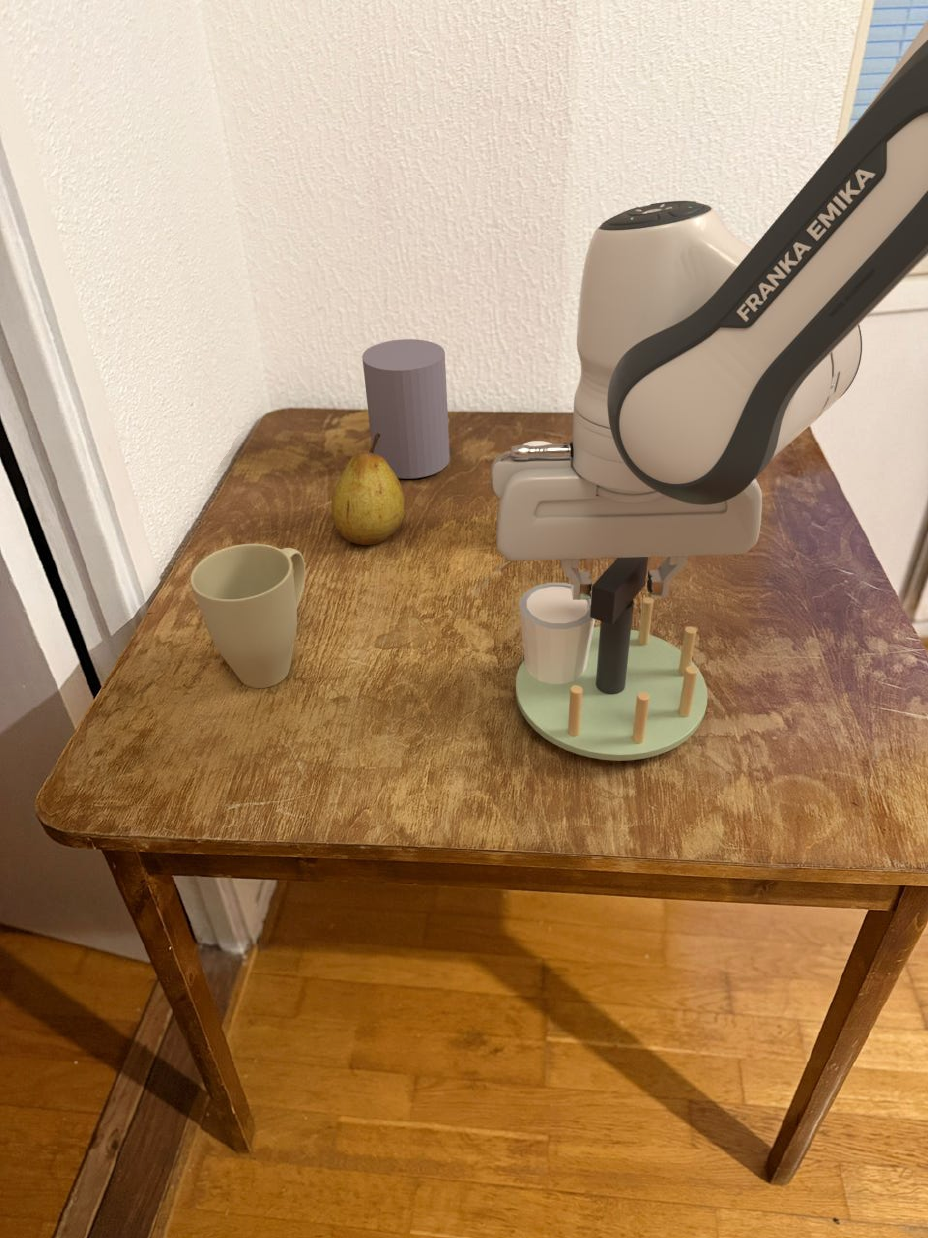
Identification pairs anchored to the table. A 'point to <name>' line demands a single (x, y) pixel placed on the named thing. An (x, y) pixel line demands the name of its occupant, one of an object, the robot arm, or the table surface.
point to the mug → (252, 608)
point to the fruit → (368, 499)
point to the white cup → (555, 633)
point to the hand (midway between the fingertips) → (618, 594)
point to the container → (408, 405)
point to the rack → (620, 681)
